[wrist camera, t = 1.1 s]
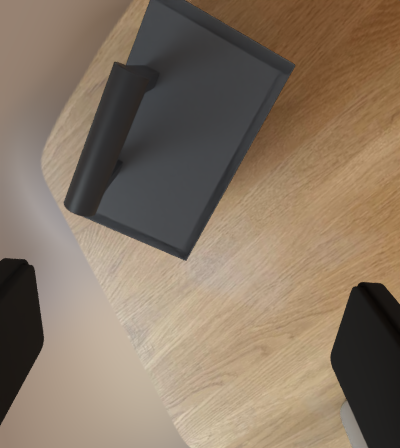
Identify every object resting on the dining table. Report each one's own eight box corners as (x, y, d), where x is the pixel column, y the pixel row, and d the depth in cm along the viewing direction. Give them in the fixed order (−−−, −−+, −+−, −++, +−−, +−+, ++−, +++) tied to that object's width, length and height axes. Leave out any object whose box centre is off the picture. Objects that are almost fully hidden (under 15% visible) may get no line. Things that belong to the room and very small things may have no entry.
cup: (364, 382, 47) (399, 449, 38) (415, 410, 49) (458, 479, 41) (327, 412, 49) (353, 481, 41) (378, 438, 51) (411, 508, 43)
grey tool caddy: (190, 206, 36) (108, 169, 34) (264, 65, 30) (171, 11, 29) (181, 328, 19) (22, 266, 18) (341, 64, 14) (131, -62, 12)
